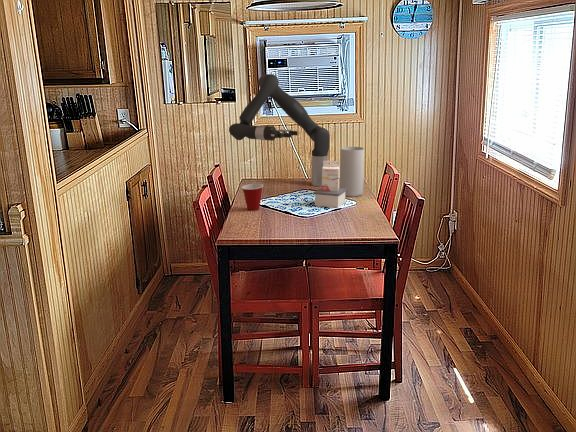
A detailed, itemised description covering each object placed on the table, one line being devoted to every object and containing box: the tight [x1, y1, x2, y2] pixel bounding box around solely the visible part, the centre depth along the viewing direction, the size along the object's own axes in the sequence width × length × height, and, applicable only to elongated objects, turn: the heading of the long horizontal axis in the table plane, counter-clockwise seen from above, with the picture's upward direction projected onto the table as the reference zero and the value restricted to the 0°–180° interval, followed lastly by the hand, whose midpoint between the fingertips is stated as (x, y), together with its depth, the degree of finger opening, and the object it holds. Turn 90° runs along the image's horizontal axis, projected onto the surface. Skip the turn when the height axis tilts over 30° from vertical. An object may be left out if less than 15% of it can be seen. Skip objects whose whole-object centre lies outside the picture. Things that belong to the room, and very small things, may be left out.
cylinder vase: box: [339, 146, 365, 198], centre depth 317 cm, size 12×12×25 cm
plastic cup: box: [241, 183, 264, 212], centre depth 289 cm, size 11×11×12 cm
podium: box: [313, 186, 347, 209], centre depth 299 cm, size 13×13×7 cm
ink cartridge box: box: [321, 160, 340, 191], centre depth 297 cm, size 9×5×15 cm, turn 82°
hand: (294, 134), depth 306 cm, fingers open, 8 cm apart
